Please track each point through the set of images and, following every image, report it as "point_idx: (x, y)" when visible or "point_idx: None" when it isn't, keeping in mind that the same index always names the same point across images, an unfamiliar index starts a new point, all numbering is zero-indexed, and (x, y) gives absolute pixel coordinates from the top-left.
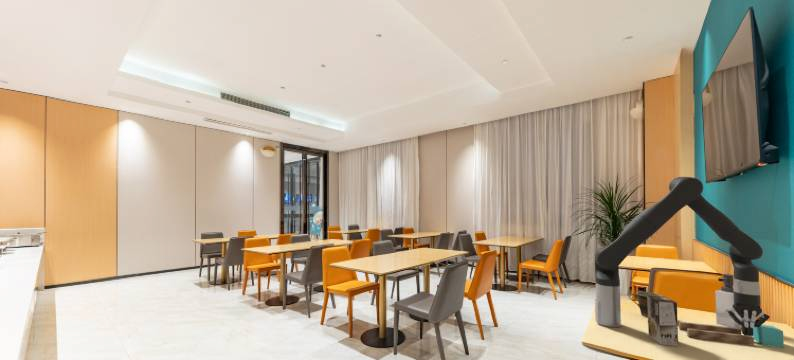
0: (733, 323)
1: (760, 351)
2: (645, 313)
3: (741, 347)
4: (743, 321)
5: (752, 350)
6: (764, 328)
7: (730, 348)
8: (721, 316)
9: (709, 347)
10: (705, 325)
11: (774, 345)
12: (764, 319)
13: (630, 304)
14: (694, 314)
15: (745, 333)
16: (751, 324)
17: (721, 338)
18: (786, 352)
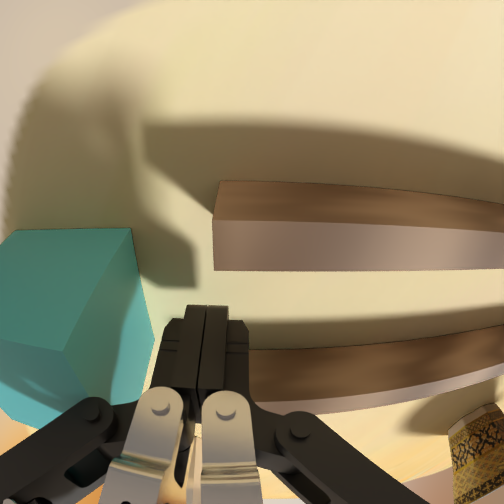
0: (198, 462)
1: (254, 4)
2: (502, 412)
3: (391, 73)
4: (254, 465)
5: (327, 11)
6: (41, 367)
7: (486, 40)
8: None
9: None
10: (451, 378)
11: (54, 233)
12: (9, 474)
13: (427, 467)
14: (279, 486)
15: (235, 333)
16: (162, 430)
17: (474, 209)
18: (24, 107)
